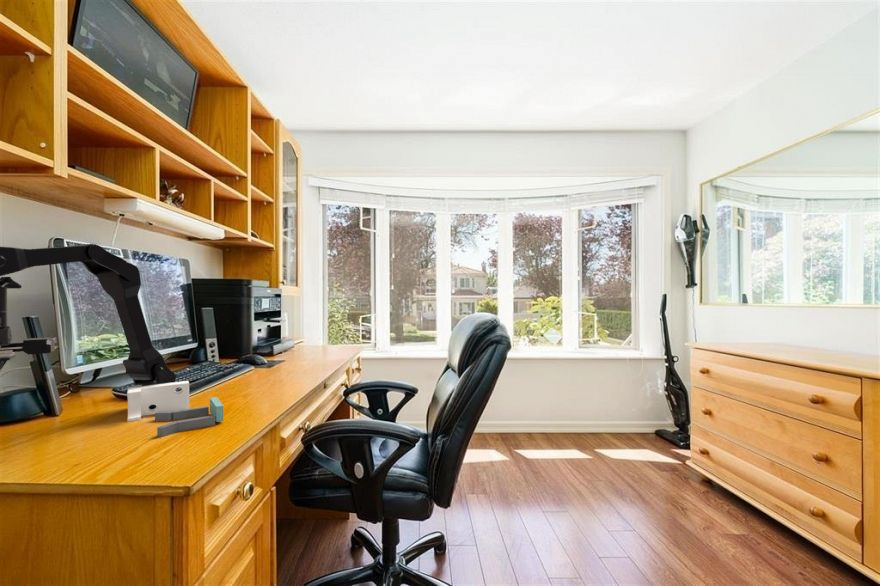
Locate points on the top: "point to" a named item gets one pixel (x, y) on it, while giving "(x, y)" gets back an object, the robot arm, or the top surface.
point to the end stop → (216, 409)
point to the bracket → (157, 399)
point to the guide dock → (183, 424)
